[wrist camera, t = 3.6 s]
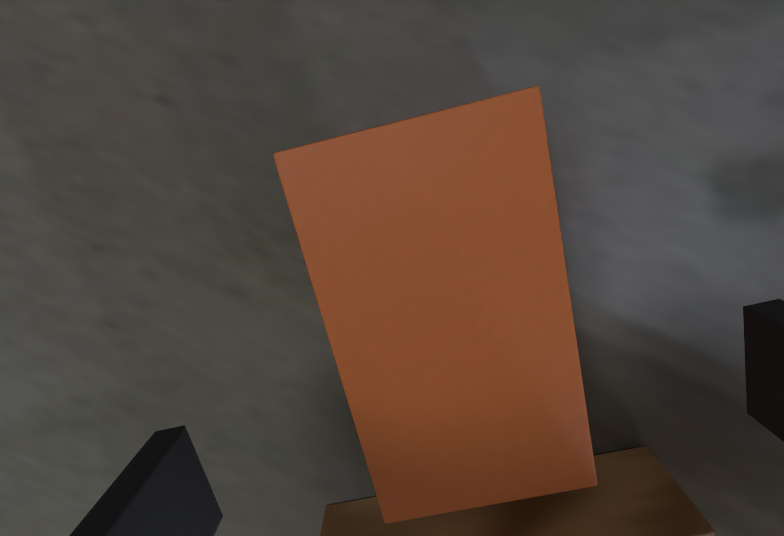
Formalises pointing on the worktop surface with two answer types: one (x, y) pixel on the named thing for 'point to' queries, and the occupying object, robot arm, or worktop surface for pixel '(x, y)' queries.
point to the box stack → (552, 509)
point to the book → (447, 304)
